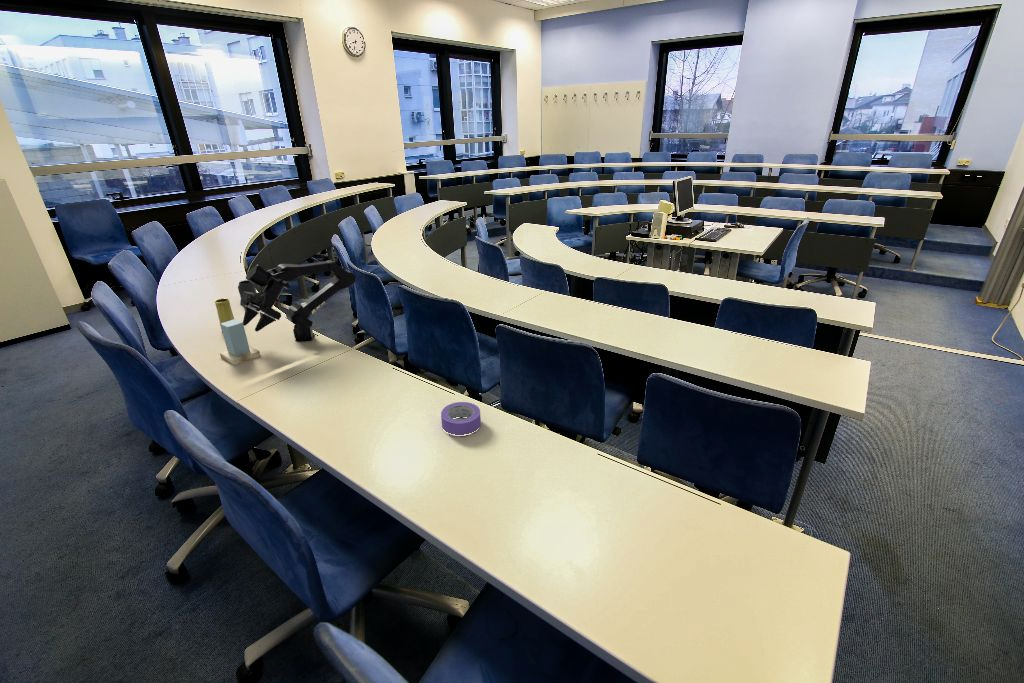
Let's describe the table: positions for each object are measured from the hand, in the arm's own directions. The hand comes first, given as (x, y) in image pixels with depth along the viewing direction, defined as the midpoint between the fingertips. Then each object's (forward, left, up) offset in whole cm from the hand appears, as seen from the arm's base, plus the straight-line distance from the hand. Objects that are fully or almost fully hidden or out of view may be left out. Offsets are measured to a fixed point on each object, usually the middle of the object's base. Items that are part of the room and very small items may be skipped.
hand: (249, 328), depth 179 cm
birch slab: (+4, +4, -10) cm, 11 cm away
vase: (+19, -25, -11) cm, 34 cm away
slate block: (+4, +4, -8) cm, 10 cm away
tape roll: (-77, +59, -12) cm, 98 cm away
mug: (+23, -62, -11) cm, 67 cm away
